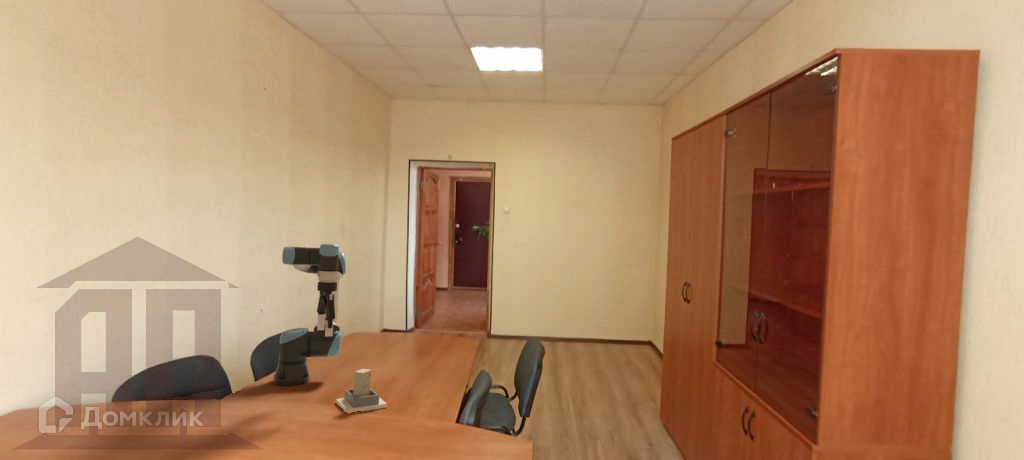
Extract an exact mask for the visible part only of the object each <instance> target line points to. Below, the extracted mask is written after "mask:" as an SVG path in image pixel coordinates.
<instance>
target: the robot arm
mask: <svg viewBox="0 0 1024 460" xmlns="http://www.w3.org/2000/svg"><path fill="white" fill-rule="evenodd" d="M281 255H282V256H281V257H282V259H281V260H282V264H283V265H289V266H291V265H292V267H293V268H294V269H295V270H297V271H299V272H303V273H306V274H316V276H317V281H318V282H317V290H316V291H318V292H319V298H318V304H317V309H316V312H317V324H316V325H315V326H314V327H313V330H312V331H310V330H309V328H307V327H297V328H292V329H287V330H284V331H282V332H281V334H280V337H279V347H278V348H279V349H278V350H279V351H278V363H277V366H276V367H277V368H276V369H275V372H274V374H273V377H272V378H273V379H272V383H273V384H275V385H277V386H296V385H301V384H305V383H308V382H309V381H310V377H311V376H310V371H309V367H308V363H307V361H308V359H307V358H330V357H336V356H339V354H340V351H341V346H342V340H343V334H344V331H343V330H341V327H340V326H339V325H338V309H339V307H338V306H339V290H340V287H339V286H340V280H341V279H342V278H343V276H344V275H345V274H346V273H347V271H346V270H347V269H346V268H347V267H346V257H345V254H344V252H343V251H340V246H339V244H334V243H331V244H330V243H321V244H320V245H319V247H304V246H303V247H302V246H301V247H300V246H284V247H283V249H282V254H281Z"/></svg>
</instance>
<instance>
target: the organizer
mask: <svg viewBox="0 0 1024 460" xmlns="http://www.w3.org/2000/svg"><path fill="white" fill-rule="evenodd" d="M335 402H336V403H335V404H336V405H338V407H339V408H340V407H341V408H343V409H344V410H345V411H346V412H348V411H355V410H359V411H361V412H366V411H373V410H380V409H385V408H388V403H387V402H386V401H384V400H383V399H382V398H381V397H380V394H379V393H377V391H375V390H374V389H373V388H372V387H370V396H363V397H356V398H355V397H354V396H353V388H349V389H345V390H344V397H342V398H336V399H335ZM341 408H340V409H341Z"/></svg>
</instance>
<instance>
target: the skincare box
mask: <svg viewBox="0 0 1024 460" xmlns="http://www.w3.org/2000/svg"><path fill="white" fill-rule="evenodd" d="M371 380H372V369H370V368H369V369H367V368H361V369H357V370H356V371H354V373H353V388H352V389H353V396H354V397H355V398H356V397H363V396H370V388H372V387H371V382H372V381H371Z"/></svg>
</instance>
